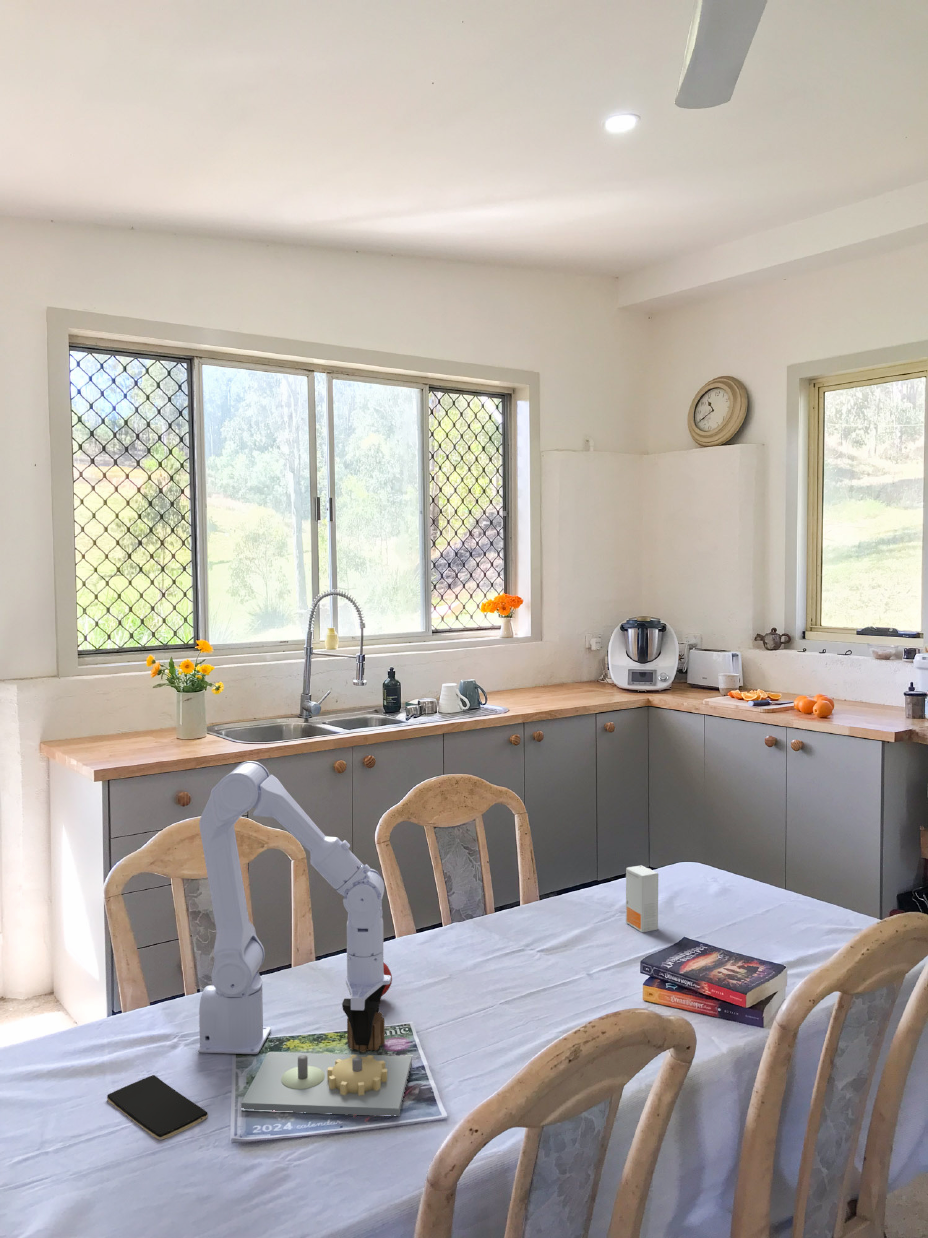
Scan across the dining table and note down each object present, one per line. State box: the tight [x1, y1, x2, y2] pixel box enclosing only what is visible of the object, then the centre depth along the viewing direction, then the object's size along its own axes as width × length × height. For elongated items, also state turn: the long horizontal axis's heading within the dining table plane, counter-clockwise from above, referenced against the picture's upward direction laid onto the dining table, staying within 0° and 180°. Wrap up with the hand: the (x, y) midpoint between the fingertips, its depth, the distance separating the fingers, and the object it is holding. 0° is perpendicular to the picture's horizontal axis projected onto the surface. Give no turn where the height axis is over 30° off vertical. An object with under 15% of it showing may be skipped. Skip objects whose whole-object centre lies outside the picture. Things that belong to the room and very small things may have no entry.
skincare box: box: [625, 864, 659, 933], centre depth 200 cm, size 6×4×12 cm
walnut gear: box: [346, 1011, 386, 1053], centre depth 152 cm, size 6×6×4 cm
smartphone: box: [106, 1074, 209, 1141], centre depth 134 cm, size 7×1×15 cm
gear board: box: [240, 1051, 413, 1117], centre depth 139 cm, size 22×14×4 cm, turn 86°
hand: (366, 1034), depth 152 cm, fingers closed on walnut gear, 6 cm apart
